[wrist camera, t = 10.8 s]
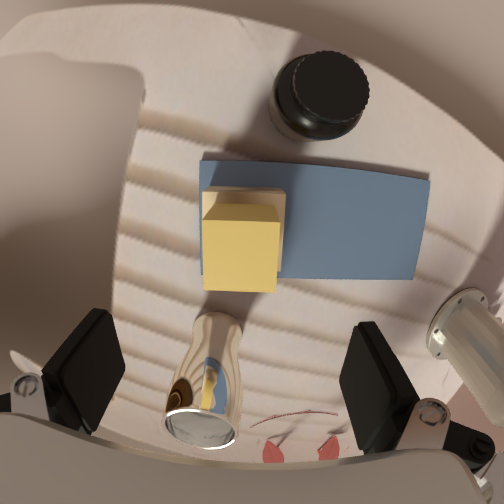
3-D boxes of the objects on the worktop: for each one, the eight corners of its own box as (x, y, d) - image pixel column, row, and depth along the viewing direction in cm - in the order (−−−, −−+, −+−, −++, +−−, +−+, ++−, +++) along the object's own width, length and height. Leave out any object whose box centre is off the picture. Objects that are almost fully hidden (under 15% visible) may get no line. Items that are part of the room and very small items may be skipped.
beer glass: (183, 309, 33) (146, 405, 19) (241, 305, 32) (233, 407, 18) (196, 353, 35) (173, 448, 21) (249, 351, 35) (246, 450, 21)
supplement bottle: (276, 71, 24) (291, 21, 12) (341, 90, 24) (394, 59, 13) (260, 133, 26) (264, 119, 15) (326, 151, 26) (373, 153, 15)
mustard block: (274, 204, 24) (280, 222, 18) (271, 260, 25) (275, 292, 20) (214, 203, 24) (201, 220, 18) (214, 258, 25) (203, 289, 20)
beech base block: (281, 188, 27) (285, 194, 23) (277, 255, 29) (280, 271, 26) (209, 185, 27) (202, 191, 23) (209, 253, 29) (203, 268, 26)
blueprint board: (426, 180, 27) (430, 181, 26) (409, 276, 31) (412, 279, 30) (201, 160, 27) (199, 160, 26) (202, 271, 31) (201, 274, 30)
